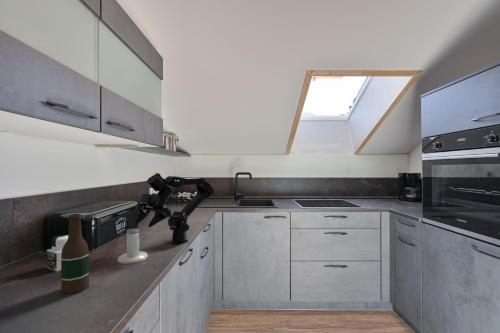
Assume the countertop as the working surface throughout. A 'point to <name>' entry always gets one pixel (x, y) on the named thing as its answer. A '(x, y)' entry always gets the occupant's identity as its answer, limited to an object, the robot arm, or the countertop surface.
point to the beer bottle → (74, 259)
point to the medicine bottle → (56, 252)
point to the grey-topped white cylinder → (132, 243)
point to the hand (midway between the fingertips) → (142, 225)
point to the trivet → (125, 260)
